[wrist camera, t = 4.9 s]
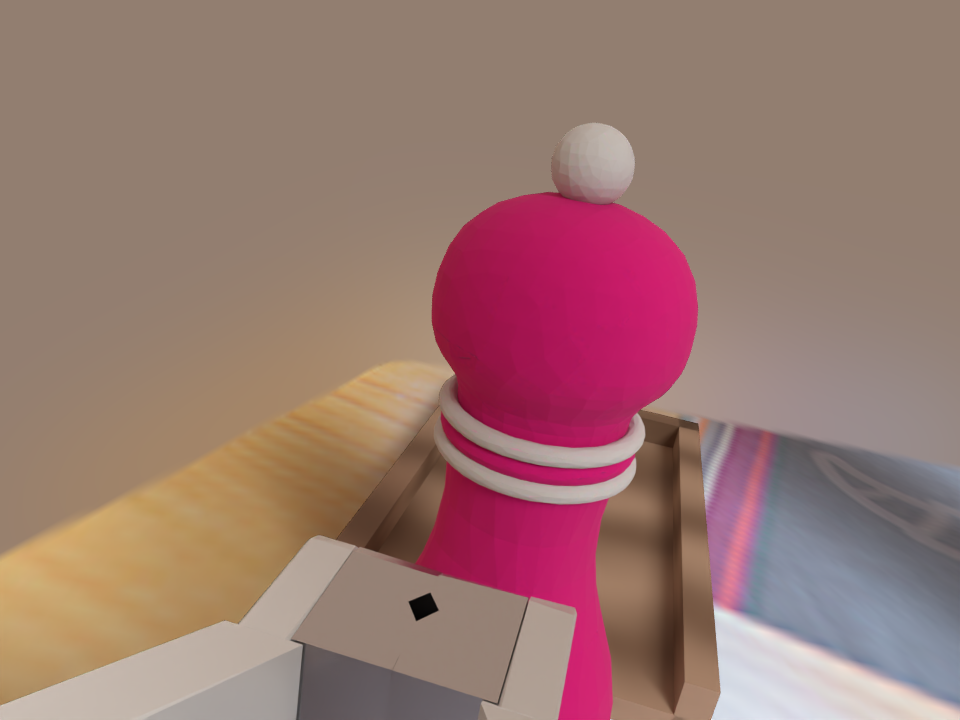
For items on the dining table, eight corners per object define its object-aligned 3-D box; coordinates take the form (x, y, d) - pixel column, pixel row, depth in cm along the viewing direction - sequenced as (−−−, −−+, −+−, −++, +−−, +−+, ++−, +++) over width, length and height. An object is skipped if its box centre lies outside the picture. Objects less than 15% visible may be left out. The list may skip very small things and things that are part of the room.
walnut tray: (462, 402, 50) (467, 368, 49) (687, 458, 47) (698, 423, 46) (307, 623, 29) (312, 570, 28) (701, 746, 26) (720, 692, 25)
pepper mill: (291, 789, 22) (356, 83, 15) (455, 672, 27) (561, 109, 20) (468, 992, 18) (674, 150, 11) (621, 808, 23) (828, 161, 16)
